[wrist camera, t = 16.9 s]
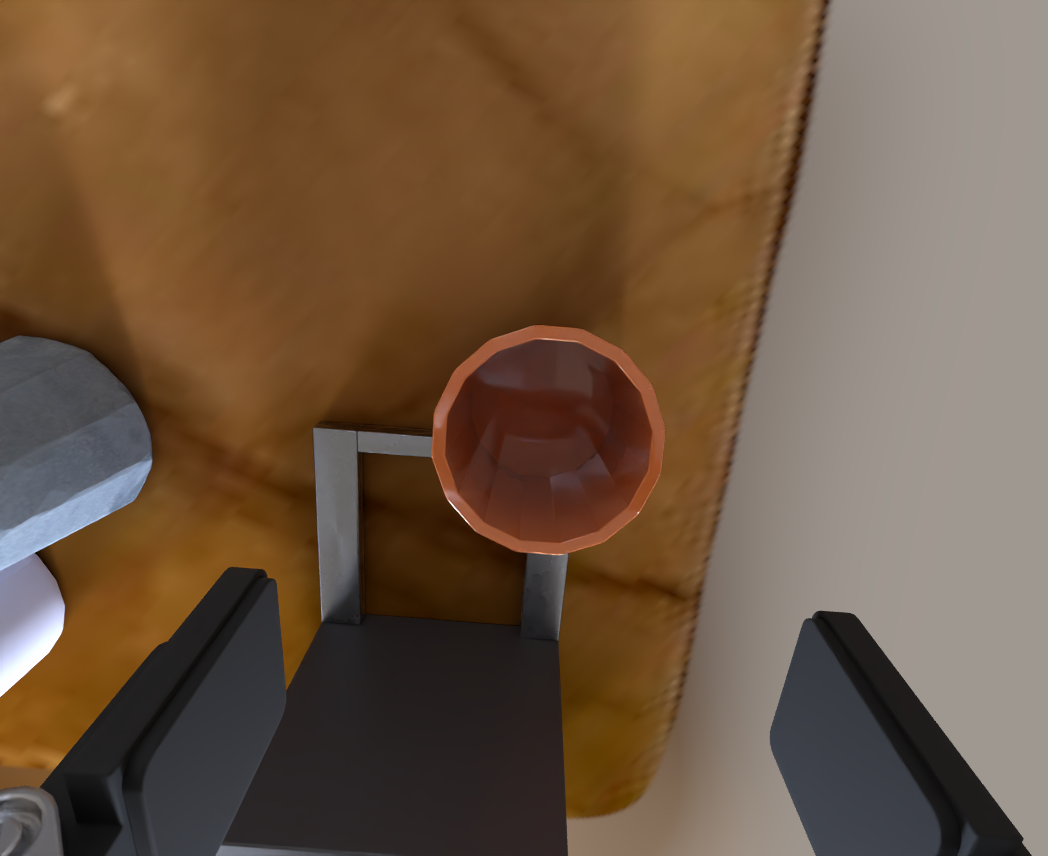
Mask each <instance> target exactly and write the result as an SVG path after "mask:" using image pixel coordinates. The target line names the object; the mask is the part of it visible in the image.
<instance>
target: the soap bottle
mask: <svg viewBox="0 0 1048 856" xmlns="http://www.w3.org/2000/svg"><path fill="white" fill-rule="evenodd" d="M64 612H65V605H64V602H63V599H62V596H61V593H60V590H59V587H58V584H57V581H56V579H55V578H54V577H53V575H52V574H51V573H50V571H49V570H48V569H47V567H46V566H45V565H44V563H43V562H42V561H41V560H40V558H39V557H38V556H37V555H36V554H35V553H33V554H31V555H29V556H27V557H26V558H24V559H22V560H20V561H18V562H16V563H14V564H12V565H10V566H8V567H7V568H5V569H3V570H1V571H0V697H1V696H2V695H3V694H4V693H5V692H6V691H7V690H8V689H9V688H10V687H12V686H13V685H14V684H15V683H16V682H17V681H18V680H19V679H20V678H21V677H23V676H24V675H25V674H26V673H27V672H28V671H29V670H30V669H31V668H32V667H34V666H35V665H36V664H37V663H38V662H39V661H40V660H41V659H42V658H43V657H44V656H46V655H47V654H48V653H49V652H50V650H51V648H52V647H53V645H54V644H55V642H56V641H57V639H58V638H59V636H60V635H61V633H62V630H63V623H64Z"/></svg>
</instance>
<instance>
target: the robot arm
mask: <svg viewBox="0 0 1048 856" xmlns="http://www.w3.org/2000/svg"><path fill="white" fill-rule="evenodd" d="M285 705H286V685H285V674H284V662H283V651H282V639H281V628H280V617H279V605H278V594H277V584H276V581H275V579H271V578H267V574H266V572H265V571H264V570H263V569H251V568H237V567H230V568H228V569H227V570H226V571H225V572H224V573H223V574H222V575H221V577H220V578H219V579H218V580H217V581H216V583H215V584H214V585H213V586H212V588H211V589H210V590H209V591H208V593H207V594H206V595H205V596H204V598H203V599H202V600H201V601H200V602H199V604H198V605H197V606H196V607H195V609H194V610H193V611H192V612H191V614H190V615H189V616H188V617H187V619H186V620H185V621H184V622H183V623H182V625H181V626H180V627H179V628H178V630H177V631H176V632H175V633H174V635H173V636H172V637H171V638H170V639H169V641H168V642H164V643H162V644H160V645H158V646H157V647H156V648H155V649H154V650H153V651H152V652H151V653H150V655H149V656H148V657H147V658H146V659H145V661H144V662H143V663H142V664H141V665H140V667H139V668H138V669H137V670H136V671H135V673H134V674H133V675H132V676H131V678H130V679H129V680H128V681H127V682H126V684H125V685H124V686H123V687H122V688H121V690H120V691H119V692H118V693H117V694H116V696H115V697H114V698H113V699H112V701H111V702H110V703H109V704H108V705H107V707H106V708H105V709H104V710H103V711H102V713H101V714H100V715H99V716H98V717H97V719H96V720H95V721H94V722H93V723H92V725H91V726H90V727H89V728H88V730H87V731H86V732H85V733H84V734H83V736H82V737H81V738H80V739H79V740H78V742H77V743H76V744H75V745H74V746H73V748H72V749H71V750H70V751H69V753H68V754H67V755H66V756H65V757H64V759H63V760H62V761H61V762H60V763H59V765H58V766H57V767H56V768H55V769H54V771H53V772H52V773H51V774H50V776H49V777H48V778H47V779H46V781H45V782H44V783H43V784H42V785H41V786H40V788H36V787H30V786H21V787H11V788H4V789H1V790H0V856H216V854H217V852H218V850H219V848H220V846H221V844H222V842H223V840H224V838H225V836H226V833H227V831H228V829H229V827H230V825H231V823H232V821H233V819H234V817H235V815H236V813H237V810H238V808H239V806H240V804H241V802H242V800H243V798H244V796H245V794H246V792H247V790H248V787H249V785H250V783H251V781H252V779H253V777H254V775H255V773H256V771H257V769H258V767H259V764H260V762H261V760H262V758H263V756H264V754H265V752H266V750H267V748H268V746H269V744H270V741H271V739H272V737H273V735H274V733H275V731H276V729H277V727H278V725H279V723H280V721H281V718H282V716H283V713H284V709H285ZM770 745H771V749H772V752H773V755H774V758H775V760H776V762H777V765H778V767H779V770H780V772H781V774H782V776H783V779H784V781H785V784H786V786H787V788H788V791H789V793H790V796H791V798H792V800H793V803H794V805H795V807H796V810H797V812H798V815H799V817H800V819H801V822H802V824H803V826H804V829H805V831H806V834H807V836H808V838H809V841H810V843H811V845H812V848H813V850H814V852H815V855H816V856H1031V854H1030V853H1029V851H1028V850H1027V849H1026V847H1025V846H1024V845H1023V844H1022V841H1023V837H1022V836H1021V834H1020V833H1019V832H1018V830H1017V829H1016V828H1015V826H1014V825H1013V824H1012V822H1011V821H1010V820H1009V818H1008V817H1007V816H1006V815H1005V813H1004V812H1003V810H1002V809H1001V808H1000V807H999V805H998V804H997V802H996V801H995V800H994V798H993V797H992V796H991V795H990V793H989V792H988V791H987V789H986V788H985V787H984V785H983V784H982V783H981V781H980V780H979V779H978V777H977V776H976V775H975V773H974V772H973V771H972V769H971V768H970V767H969V765H968V764H967V763H966V761H965V760H964V759H963V757H962V756H961V755H960V753H959V752H958V751H957V749H956V748H955V747H954V745H953V744H952V743H951V741H950V740H949V739H948V737H947V736H946V735H945V733H944V732H943V731H942V729H941V728H940V727H939V725H938V724H937V723H936V721H934V719H933V717H932V716H931V715H930V714H929V712H928V711H927V709H926V708H925V707H924V705H923V704H922V703H921V702H920V700H919V699H918V697H917V696H916V695H915V694H914V692H913V691H912V689H911V688H910V687H909V686H908V684H907V683H906V682H905V680H904V679H903V678H902V676H901V675H900V674H899V672H898V671H897V670H896V668H895V667H894V666H893V664H892V663H891V662H890V660H889V659H888V658H887V656H886V655H885V654H884V652H883V651H882V650H881V648H880V647H879V646H878V644H877V643H876V642H875V640H874V639H873V638H872V636H871V635H870V634H869V633H868V631H867V630H866V628H865V627H864V626H863V624H862V623H861V622H860V620H859V619H858V618H857V617H856V616H855V615H854V614H851V613H844V612H830V611H817V612H816V613H815V614H814V615H813V617H812V619H811V618H808V619H806V620H805V621H804V622H803V625H802V628H801V631H800V634H799V638H798V641H797V644H796V647H795V651H794V654H793V657H792V661H791V664H790V667H789V670H788V674H787V677H786V680H785V684H784V687H783V690H782V693H781V697H780V700H779V703H778V707H777V710H776V713H775V717H774V720H773V723H772V726H771V730H770Z"/></svg>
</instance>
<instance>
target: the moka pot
mask: <svg viewBox="0 0 1048 856" xmlns="http://www.w3.org/2000/svg"><path fill="white" fill-rule="evenodd" d="M151 466H152V442H151V435H150V431H149V429H148V426H147V424H146V421H145V418H144V415H143V414H142V412H141V410H140V409H139V407H138V405H137V403H136V401H135V400H134V398H133V396H132V395H131V393H130V392H129V390H128V389H127V388H126V386H125V385H124V384H123V383H122V382H120V381H119V380H118V379H117V378H116V377H115V376H114V375H113V374H112V373H111V371H110V370H109V369H108V368H107V367H105V366H104V365H103V364H102V363H101V362H99V361H98V360H97V359H96V358H95V357H94V356H93V355H92V354H91V353H89V352H88V351H86V350H83V349H80V348H78V347H75V346H72V345H70V344H65V343H61V342H59V341H55V340H50V339H46V338H38V337H29V336H16V337H13V338H10V339H8V340H6V341H3V342H1V343H0V571H1V570H3V569H5V568H7V567H8V566H10V565H12V564H14V563H16V562H18V561H20V560H22V559H24V558H26V557H27V556H29V555H31V554H33V553H35V552H37V551H39V550H41V549H43V548H45V547H47V546H48V545H50V544H52V543H54V542H56V541H58V540H60V539H62V538H64V537H66V536H68V535H70V534H71V533H73V532H75V531H77V530H79V529H81V528H83V527H85V526H87V525H89V524H91V523H93V522H95V521H97V520H99V519H101V518H102V517H104V516H106V515H108V514H110V513H112V512H114V511H116V510H118V509H119V508H121V507H123V506H125V505H127V504H129V503H131V502H133V501H134V500H135V498H136V497H137V496H138V494H139V492H140V491H141V489H142V486H143V485H144V483H145V481H146V478H147V475H148V473H149V471H150V469H151Z"/></svg>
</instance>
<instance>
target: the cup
mask: <svg viewBox="0 0 1048 856" xmlns="http://www.w3.org/2000/svg"><path fill="white" fill-rule="evenodd" d="M665 429H666V428H665V425H664V421H663V418H662V414H661V411H660V408H659V404H658V401H657V397H656V394H655V390H654V387H652V384H651V383H650V381H649V380H648V379H647V378H646V377H645V375H644V374H643V373H642V372H641V371H640V369H639V368H638V367H637V366H636V364H635V363H634V362H633V361H632V360H631V358H630V357H629V356H628V355H627V353H626V352H625V351H623V350H622V349H621V348H619V347H617V346H615V345H613V344H611V343H609V342H607V341H605V340H603V339H601V338H599V337H598V336H596V335H594V334H592V333H590V332H588V331H586V330H584V329H581V328H571V327H559V326H546V325H532V326H529V327H526V328H523V329H520V330H517V331H514V332H511V333H508V334H504V335H501V336H498V337H495V338H492V339H491V340H488V341H487V342H486V343H485V344H484V345H483V346H481V347H480V348H479V349H478V350H477V351H476V352H475V353H473V354H472V355H471V356H470V357H469V358H468V359H466V360H465V361H464V362H463V363H462V364H461V365H460V366H458V367H457V368H456V369H455V371H454V372H453V374H452V376H451V378H450V380H449V382H448V384H447V386H446V388H445V390H444V392H443V394H442V396H441V398H440V400H439V402H438V404H437V406H436V408H435V412H434V420H433V437H432V460H433V463H434V465H435V468H436V471H437V474H438V477H439V480H440V482H441V485H442V488H443V491H444V494H445V497H446V498H447V500H448V501H449V503H450V504H451V505H452V506H453V507H454V508H455V509H456V510H457V511H458V513H459V514H460V515H461V516H462V517H463V518H464V519H465V520H466V521H467V523H468V524H469V525H470V526H471V527H472V528H473V529H474V530H475V531H476V532H477V533H479V534H481V535H483V536H485V537H487V538H489V539H491V540H493V541H495V542H497V543H499V544H501V545H503V546H505V547H507V548H509V549H511V550H513V551H517V552H524V553H537V554H549V555H564V554H567V553H570V552H574V551H577V550H580V549H583V548H587V547H590V546H593V545H596V544H600V543H602V542H604V541H606V540H607V539H608V538H610V537H611V536H612V535H613V534H615V533H616V532H617V531H618V530H620V529H621V528H622V527H623V526H625V525H626V524H627V523H628V522H630V521H631V520H632V519H633V518H635V517H636V516H637V515H638V514H639V513H640V511H641V509H642V508H643V506H644V504H645V502H646V500H647V499H648V497H649V495H650V493H651V491H652V490H653V488H654V486H655V484H656V483H657V481H658V479H659V477H660V474H661V469H662V460H663V452H664V443H665V435H666V431H665Z"/></svg>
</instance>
